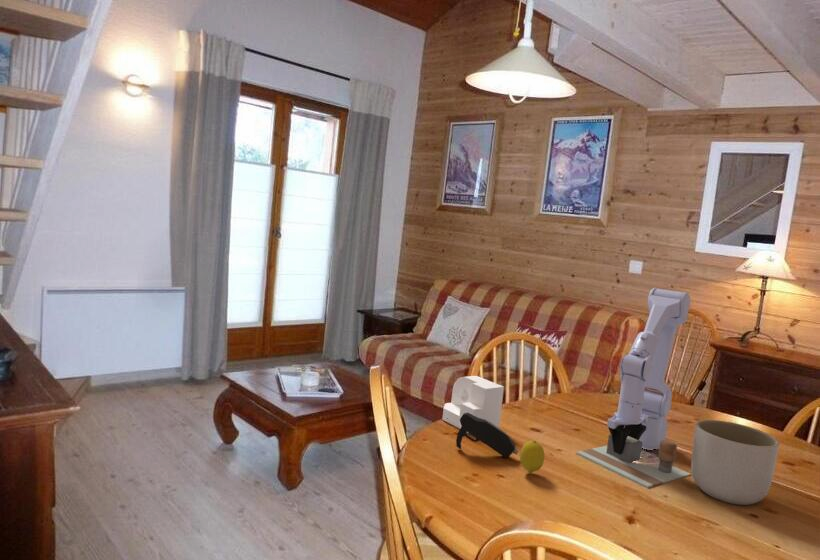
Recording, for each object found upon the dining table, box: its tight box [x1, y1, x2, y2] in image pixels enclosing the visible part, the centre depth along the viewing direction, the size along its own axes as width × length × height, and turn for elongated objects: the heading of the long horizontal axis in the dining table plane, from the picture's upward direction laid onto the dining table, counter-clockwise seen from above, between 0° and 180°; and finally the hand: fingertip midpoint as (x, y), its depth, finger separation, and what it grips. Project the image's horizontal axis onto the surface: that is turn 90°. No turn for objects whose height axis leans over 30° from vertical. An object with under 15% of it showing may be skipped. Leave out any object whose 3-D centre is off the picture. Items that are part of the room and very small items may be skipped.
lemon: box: [519, 439, 545, 474], centre depth 138 cm, size 6×6×8 cm
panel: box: [575, 445, 692, 489], centre depth 150 cm, size 18×21×1 cm
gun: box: [455, 413, 519, 458], centre depth 148 cm, size 3×16×10 cm, turn 78°
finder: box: [606, 433, 643, 463], centre depth 153 cm, size 4×7×5 cm, turn 34°
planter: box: [690, 419, 780, 506], centre depth 136 cm, size 17×17×15 cm
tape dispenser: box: [441, 375, 505, 434], centre depth 169 cm, size 16×10×13 cm, turn 36°
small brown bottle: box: [657, 440, 678, 473], centre depth 146 cm, size 4×4×7 cm
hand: (623, 451), depth 153 cm, fingers closed on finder, 4 cm apart
